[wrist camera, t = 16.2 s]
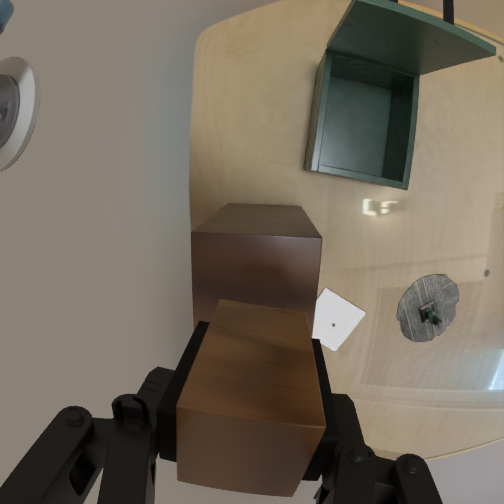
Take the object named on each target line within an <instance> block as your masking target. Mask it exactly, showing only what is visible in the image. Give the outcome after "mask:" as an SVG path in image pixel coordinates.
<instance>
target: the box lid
mask: <svg viewBox="0 0 504 504" xmlns="http://www.w3.org/2000/svg"><path fill="white" fill-rule="evenodd" d="M327 50H331V51H336V52H340V53H345V54H349V55H354V56H358V57H362V58H366V59H370V60H373V61H377V62H381V63H384V64H388V65H391V66H394V67H398V68H401V69H404V70H407V71H410V72H413V73H416V74H419V75H424V74H427V73H430V72H434V71H437V70H440V69H444V68H447V67H451V66H455V65H458V64H462V63H466V62H470V61H474V60H478V59H482V58H486V57H491V56H495V55H496V47H495V46H493V45H491V44H490V43H488V42H486V41H484V40H482V39H480V38H478V37H477V36H475V35H473V34H471V33H469V32H467V31H465V30H463V29H461V28H458V27H456V26H454V8H453V0H443V20H441V19H438V18H436V17H433V16H431V15H428V14H426V13H423V12H421V11H418V10H415V9H413V8H410V7H407V6H404V5H401V4H398V0H352V1H351V3H350V4H349V6H348V8H347V10H346V11H345V13H344V15H343V17H342V18H341V20H340V22H339V24H338V25H337V27H336V29H335V31H334V32H333V34H332V36H331V38H330V40H329V41H328V43H327Z"/></svg>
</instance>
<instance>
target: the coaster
mask: <svg viewBox="0 0 504 504" xmlns="http://www.w3.org/2000/svg"><path fill="white" fill-rule="evenodd" d="M365 314H366V313H365V312H363V311H362V310H360V309H359V308H357V307H356V306H354V305H352V304H351V303H349V302H348V301H346V300H344V299H343V298H341V297H340V296H338V295H337V294H335V293H333V292H332V291H330V290H329V289H327V288H325V289H324V291H323V292H322V294H321V295H320V296H319V298H318V299H317V300H316V309H315V317H314V325H313V333H312V338H315V339H320V343H321V344H323V345H324V346H326V347H328V348H330V349H332V350H334V351H336V350H337V349H338V348H339V346H340V345H341V344H342V343H343V342H344V340H345V339H346V338H347V337H348V336H349V334H350V333H351V332H352V331H353V329H354V328H355V327H356V326H357V324H358V323H359V322H360V321H361V319H362V318H363V317H364V316H365Z"/></svg>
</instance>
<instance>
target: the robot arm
mask: <svg viewBox="0 0 504 504" xmlns="http://www.w3.org/2000/svg"><path fill="white" fill-rule="evenodd" d="M13 9H14V7H13V4H12V2H10V0H0V34H1V33H2V32H3V31H4V29H5V26H6V24H7V22H8V21H9V19H10V17H11V16H12V14H13ZM19 108H20V90H19V86H18V84H17V82H16V80H15V79H14V78H13V77H11V76H8V75H4V74H0V149H1V148H2V147H3V146H4V145H5V143H6V142H7V141H8V139H9V138H10V136H11V134H12V132H13V130H14V127H15V125H16V122H17V118H18V114H19ZM209 323H210V322H205V321H200V320H199V322H198V324H197V326H196V328H195V330H194V332H193V334H192V336H191V338H190V341H189V343H188V345H187V347H186V349H185V351H184V353H183V355H182V357H181V359H180V362H179V364H178V366H177V368H176V370H170V369H166V368H162V367H156V368H155V369H154V370H152V371H151V372H149V374H148V375H147V377H146V379H145V382H144V383H143V384H142V386H141V388H140V390H139V391H138V393H137V394H124V395H120V396H118V397H117V398H115V399H114V401H113V402H112V410H113V416H114V418H112V419H103V418H92V415H91V414H90V413H89V411H88V410H86V409H85V408H83V407H79V406H69V407H66V408H64V409H63V410H61V411H60V412H59V413H58V414H57V415H56V417H55V418H54V419H53V420H52V422H51V423H50V424H49V425H48V427H47V428H46V429H45V430H44V432H43V433H42V434H41V435H40V437H39V438H38V439H37V440H36V442H35V443H34V444H33V446H32V447H31V448H30V449H29V451H28V452H27V453H26V454H25V456H24V457H23V458H22V460H21V461H20V462H19V464H18V465H17V466H16V467H15V469H14V470H13V472H12V473H11V474H10V475H9V477H8V478H7V479H6V481H5V482H4V483H3V485H2V486H1V487H0V504H83V503H84V501H85V499H86V497H87V496H88V493H89V492H90V490H91V488H92V486H93V485H94V483H95V481H96V479H97V477H98V475H99V474H100V472H101V470H102V468H104V470H103V475H102V480H101V485H100V491H99V496H98V502H97V504H154V498H155V478H156V458H157V455H158V453H159V456H160V458H161V459H165V460H169V461H173V462H177V457H176V405H177V402H178V400H179V397H180V395H181V392H182V390H183V387H184V385H185V382H186V380H187V377H188V375H189V372H190V370H191V367H192V365H193V363H194V360H195V358H196V355H197V353H198V350H199V348H200V345H201V343H202V340H203V338H204V336H205V333H206V331H207V328H208V326H209ZM311 341H312V347H313V352H314V358H315V363H316V369H317V374H318V380H319V386H320V392H321V398H322V404H323V410H324V416H325V422H326V429H325V431H324V433H323V436H322V438H321V440H320V442H319V445H318V447H317V449H316V451H315V453H314V455H313V457H312V459H311V462H310V464H309V466H308V468H307V470H306V472H305V474H304V476H303V478H302V480H307V481H318V479H319V477H320V475H321V474H322V481H323V483H322V484H321V486H320V488H319V489H318V491H317V493H316V494H315V496H314V498H313V499H316V498H317V500H316V504H443V503H442V501H441V498H440V495H439V493H438V490H437V488H436V486H435V483H434V480H433V478H432V476H431V473H430V471H429V468H428V466H427V464H426V462H425V461H424V459H422V458H421V457H420V456H417V455H415V454H404V455H401V456H400V457H399V458H398V459H397V460H396V461H395V460H390V459H385V458H381V457H378V456H376V455H375V453H374V451H373V450H372V449H371V448H370V447H369V446H367V445H366V444H365V443H364V439H363V435H362V431H361V428H360V424H359V420H358V417H357V413H356V409H355V406H354V402H353V401H352V400H351V399H350V398H349V396H348V395H347V394H334V393H331V388H330V383H329V379H328V374H327V370H326V365H325V361H324V356H323V352H322V347H321V343H320V339H315V338H311Z"/></svg>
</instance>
